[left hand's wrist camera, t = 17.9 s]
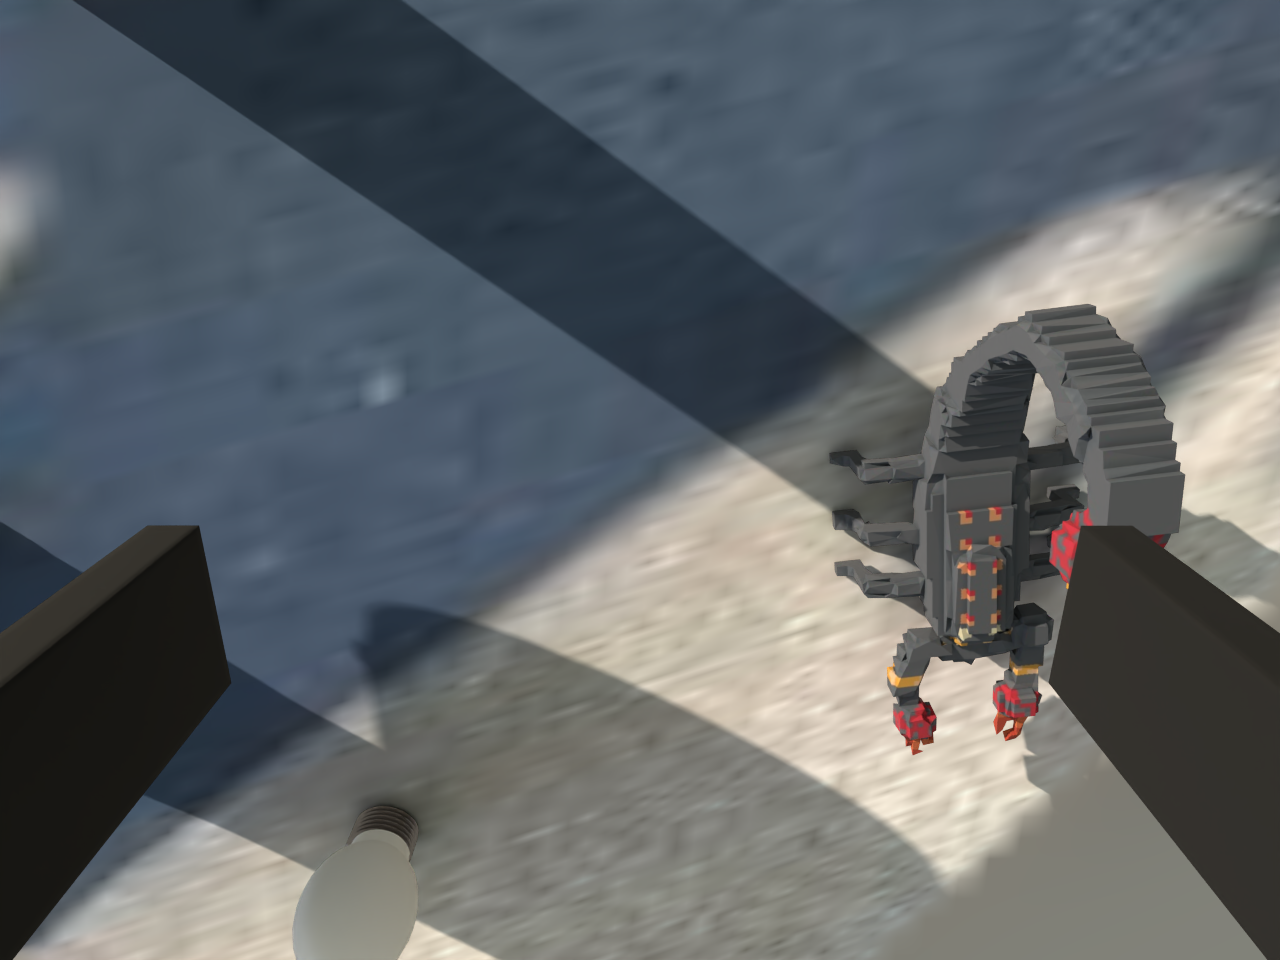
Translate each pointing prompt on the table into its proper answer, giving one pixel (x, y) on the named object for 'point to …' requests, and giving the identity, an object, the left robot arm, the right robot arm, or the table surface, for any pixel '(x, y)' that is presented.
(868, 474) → the toy
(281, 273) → the table surface
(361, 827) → the light bulb
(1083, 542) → the left robot arm
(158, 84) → the table surface
